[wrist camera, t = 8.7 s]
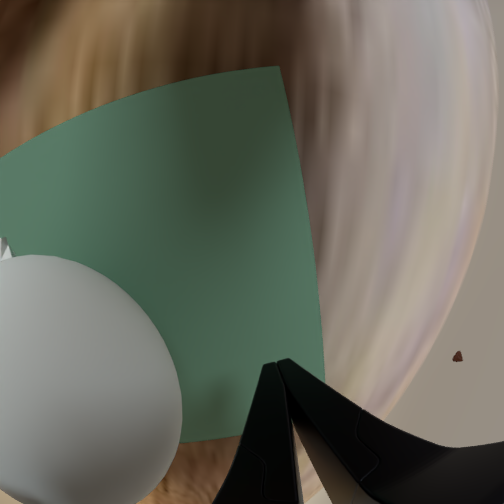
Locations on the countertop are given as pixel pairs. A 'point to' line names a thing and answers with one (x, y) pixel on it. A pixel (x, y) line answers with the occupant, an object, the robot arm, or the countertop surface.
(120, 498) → the ball
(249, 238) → the putting deck
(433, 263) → the countertop surface
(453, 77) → the countertop surface
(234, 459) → the robot arm
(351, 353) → the countertop surface
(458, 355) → the poop emoji
